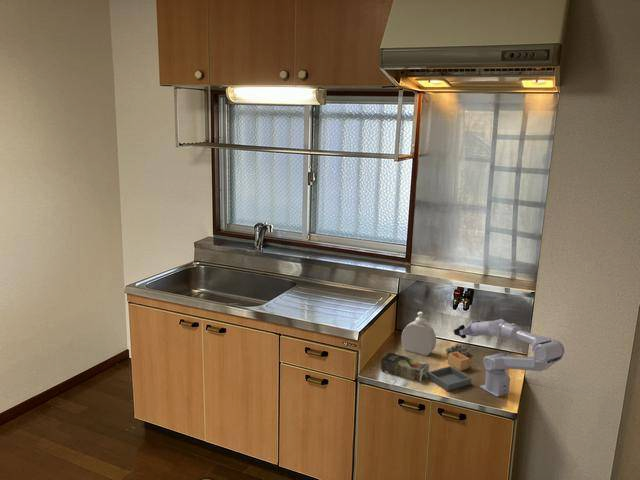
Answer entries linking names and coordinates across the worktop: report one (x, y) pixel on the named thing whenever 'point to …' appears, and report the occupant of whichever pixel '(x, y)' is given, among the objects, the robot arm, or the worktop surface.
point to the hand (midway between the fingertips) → (461, 330)
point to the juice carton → (405, 367)
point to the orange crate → (458, 361)
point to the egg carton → (457, 348)
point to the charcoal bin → (449, 378)
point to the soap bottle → (419, 336)
